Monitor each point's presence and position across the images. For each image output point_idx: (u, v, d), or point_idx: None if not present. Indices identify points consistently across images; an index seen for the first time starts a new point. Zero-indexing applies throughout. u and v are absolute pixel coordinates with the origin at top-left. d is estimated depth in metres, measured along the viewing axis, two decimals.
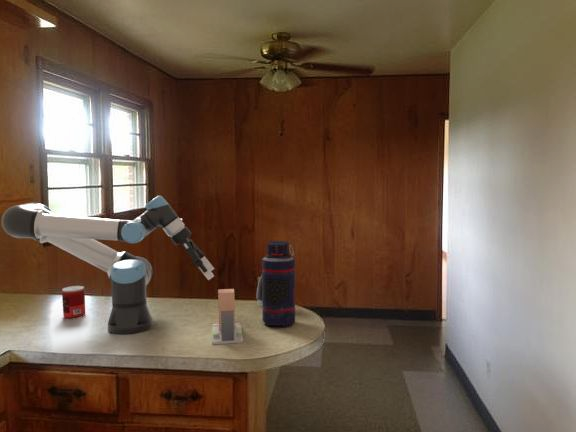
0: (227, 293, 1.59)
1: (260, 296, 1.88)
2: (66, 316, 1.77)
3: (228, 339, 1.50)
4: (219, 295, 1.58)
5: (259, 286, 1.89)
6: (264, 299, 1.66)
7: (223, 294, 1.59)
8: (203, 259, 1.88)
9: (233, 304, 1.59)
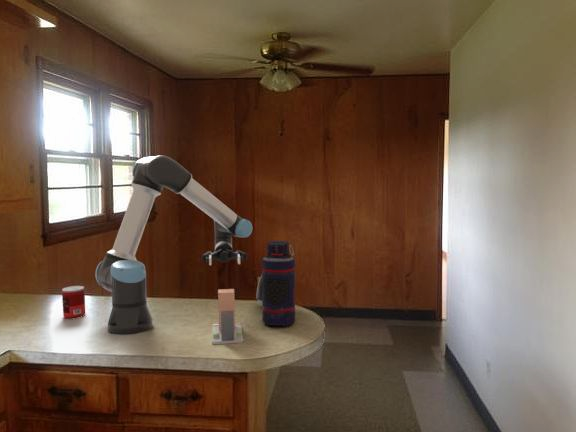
0: (227, 293, 1.59)
1: (260, 296, 1.88)
2: (66, 316, 1.77)
3: (228, 339, 1.50)
4: (219, 295, 1.58)
5: (259, 286, 1.89)
6: (264, 299, 1.66)
7: (223, 294, 1.59)
8: None
9: (233, 304, 1.59)
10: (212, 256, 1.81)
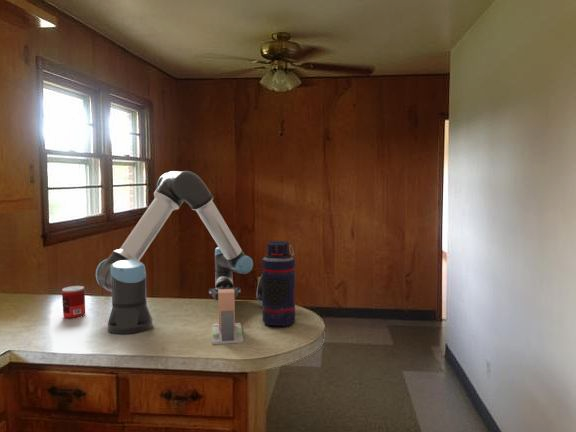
0: (227, 293, 1.59)
1: (260, 296, 1.88)
2: (66, 316, 1.77)
3: (228, 339, 1.50)
4: (219, 295, 1.58)
5: (259, 286, 1.89)
6: (264, 299, 1.66)
7: (223, 294, 1.59)
8: None
9: (233, 304, 1.59)
10: None
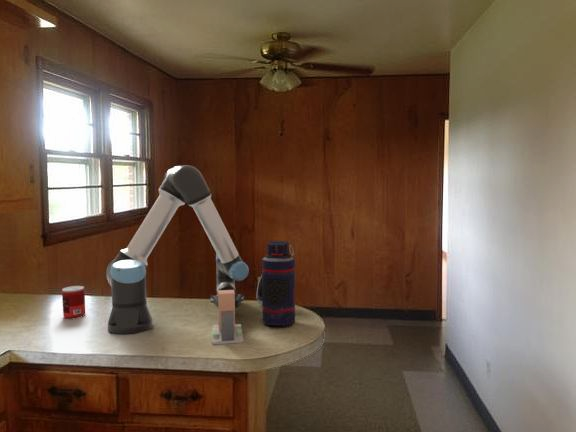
0: (227, 294, 1.57)
1: (260, 296, 1.88)
2: (66, 316, 1.77)
3: (228, 339, 1.50)
4: (219, 296, 1.57)
5: (259, 286, 1.89)
6: (264, 299, 1.66)
7: (223, 295, 1.57)
8: None
9: (233, 305, 1.58)
10: None
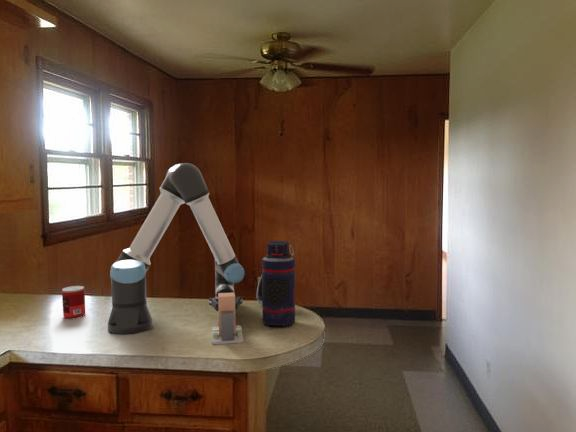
0: (227, 297, 1.54)
1: (260, 296, 1.88)
2: (66, 316, 1.77)
3: (228, 339, 1.50)
4: (219, 299, 1.53)
5: (259, 286, 1.89)
6: (264, 299, 1.66)
7: (223, 298, 1.53)
8: None
9: (234, 308, 1.54)
10: None
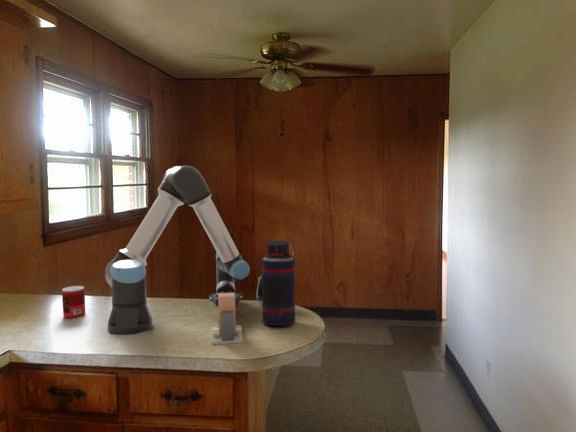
0: (227, 297, 1.54)
1: (260, 296, 1.88)
2: (66, 316, 1.77)
3: (228, 339, 1.50)
4: (219, 299, 1.53)
5: (259, 286, 1.89)
6: (264, 299, 1.66)
7: (223, 298, 1.53)
8: None
9: (234, 308, 1.54)
10: None
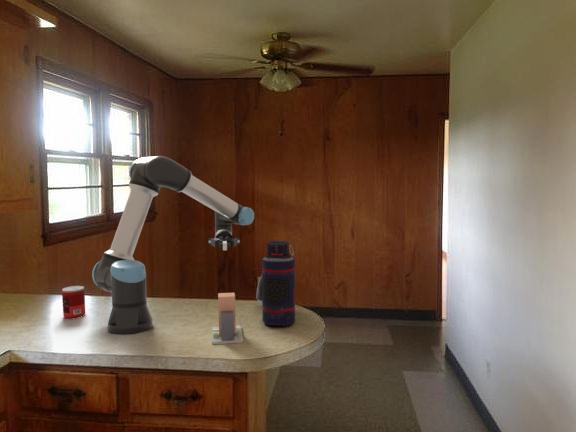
0: (227, 297, 1.54)
1: (260, 296, 1.88)
2: (66, 316, 1.77)
3: (228, 339, 1.50)
4: (219, 299, 1.53)
5: (259, 286, 1.89)
6: (264, 299, 1.66)
7: (223, 298, 1.53)
8: None
9: (234, 308, 1.54)
10: None
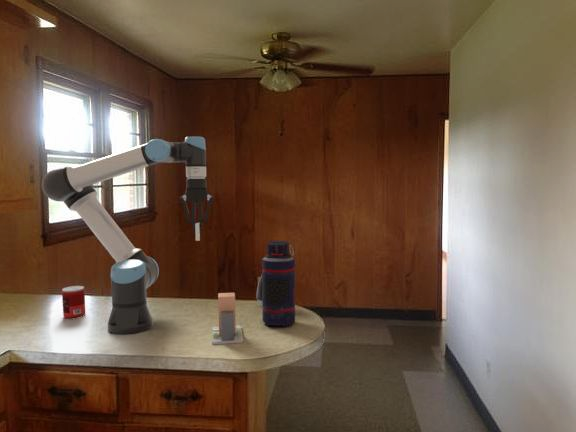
0: (227, 297, 1.54)
1: (260, 296, 1.88)
2: (66, 316, 1.77)
3: (228, 339, 1.50)
4: (219, 299, 1.53)
5: (259, 286, 1.89)
6: (264, 299, 1.66)
7: (223, 298, 1.53)
8: None
9: (234, 308, 1.54)
10: None
